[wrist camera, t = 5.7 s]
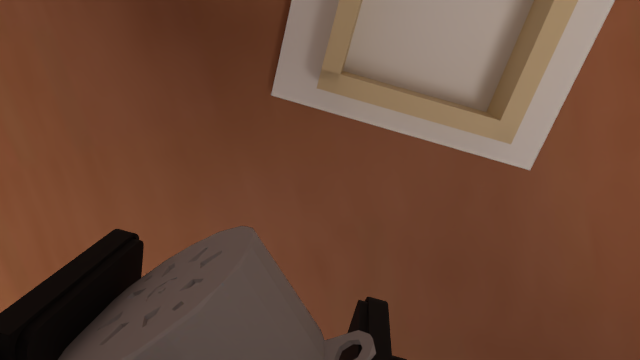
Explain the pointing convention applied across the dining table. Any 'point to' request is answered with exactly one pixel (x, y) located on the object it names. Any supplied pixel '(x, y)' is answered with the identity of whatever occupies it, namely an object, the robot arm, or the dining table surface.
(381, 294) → the dining table surface
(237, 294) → the electric motor
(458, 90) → the mounting board
